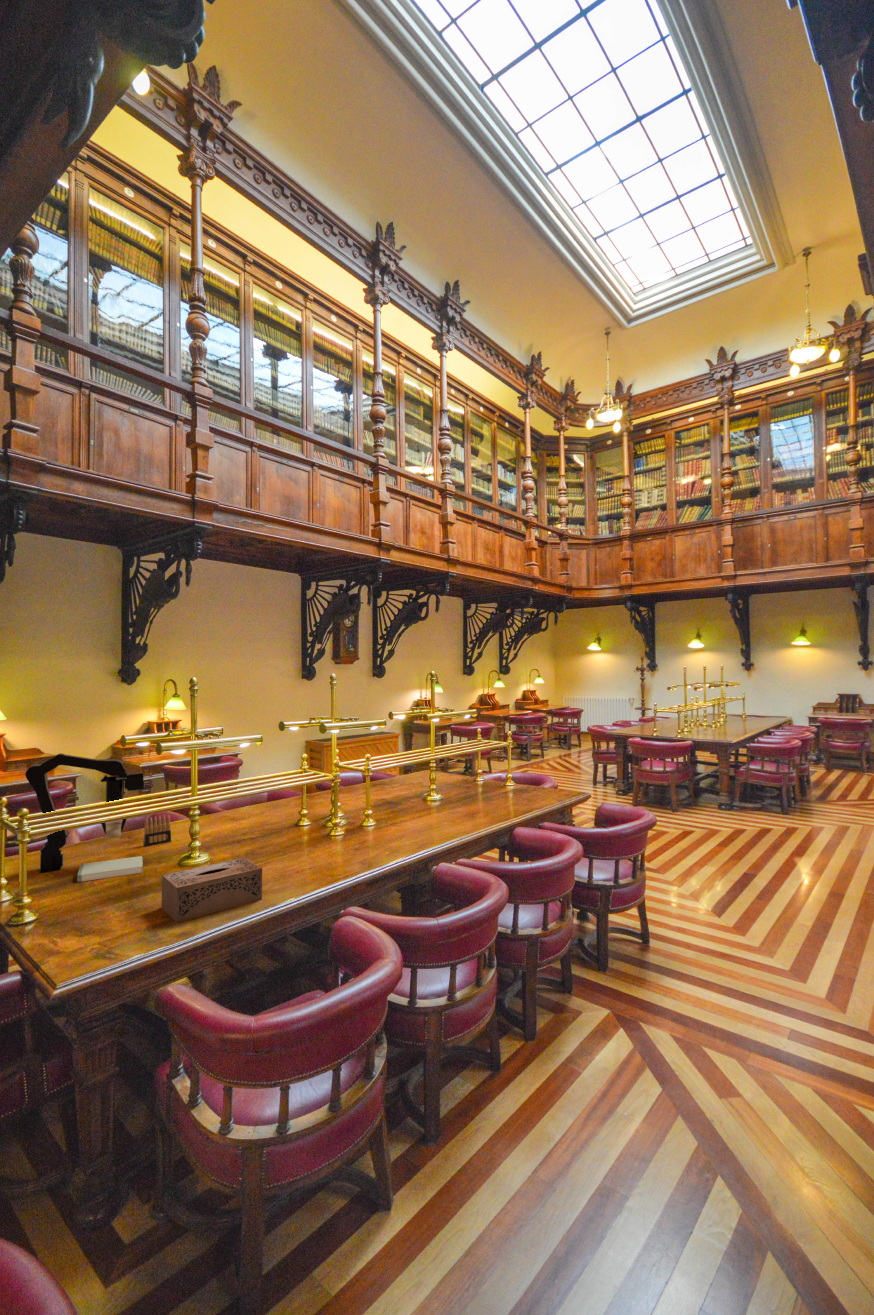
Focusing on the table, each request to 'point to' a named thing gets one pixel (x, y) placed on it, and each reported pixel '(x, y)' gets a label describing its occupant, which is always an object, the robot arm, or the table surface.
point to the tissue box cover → (211, 888)
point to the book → (110, 868)
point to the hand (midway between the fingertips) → (113, 832)
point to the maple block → (113, 829)
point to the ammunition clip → (157, 836)
